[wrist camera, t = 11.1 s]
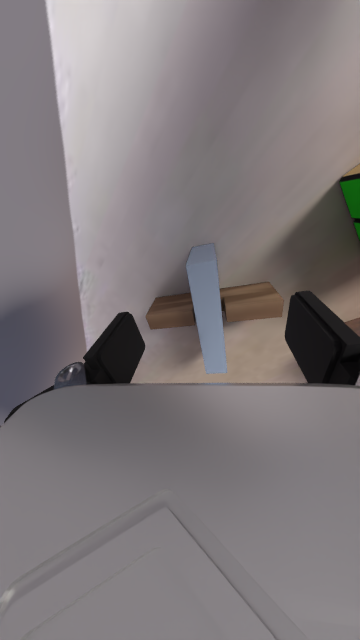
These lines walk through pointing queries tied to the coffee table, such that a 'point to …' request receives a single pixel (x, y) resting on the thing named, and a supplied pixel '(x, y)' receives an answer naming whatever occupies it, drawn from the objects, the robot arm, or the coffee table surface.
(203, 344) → the slate plate
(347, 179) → the puzzle cube
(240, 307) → the walnut rail
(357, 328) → the tissue box cover
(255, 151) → the coffee table surface
